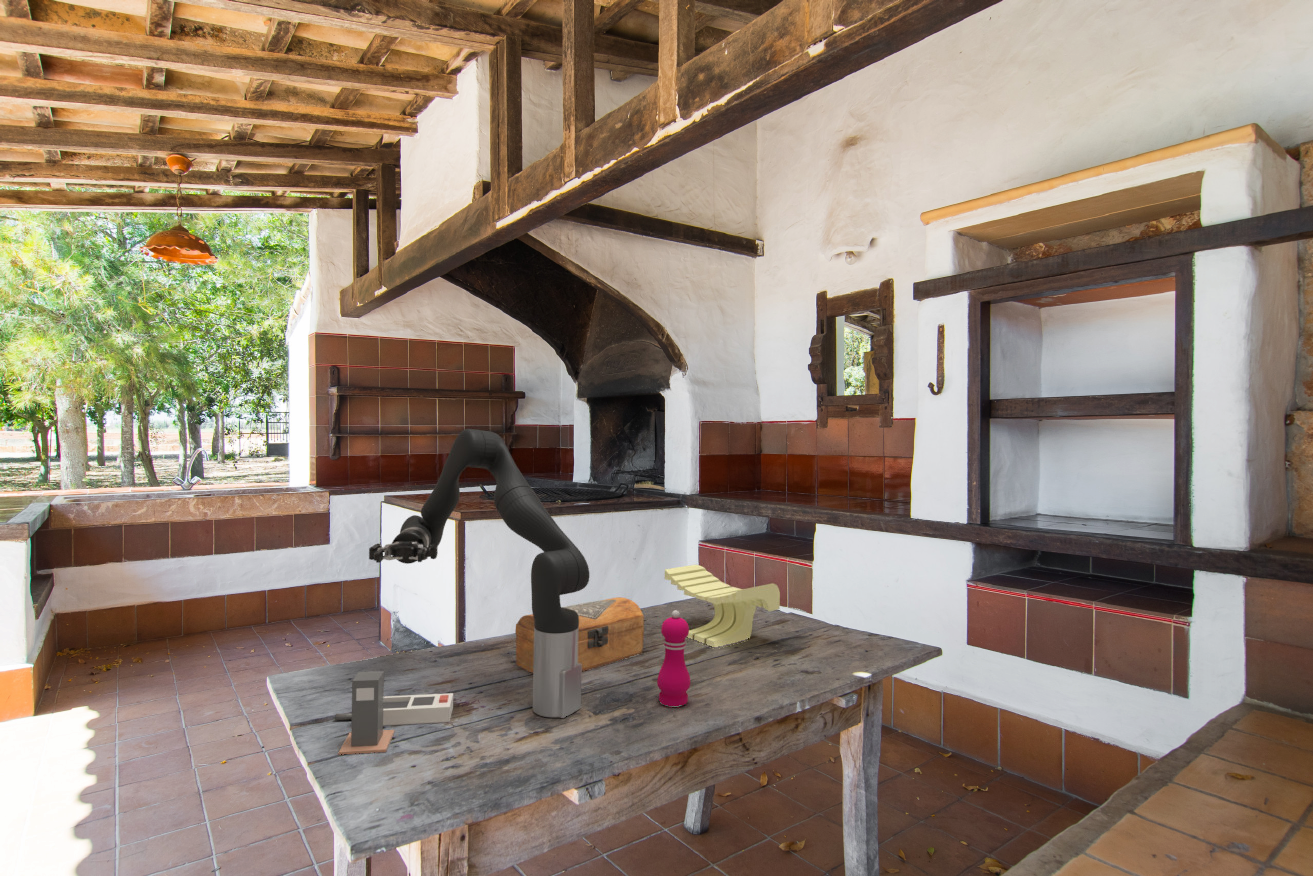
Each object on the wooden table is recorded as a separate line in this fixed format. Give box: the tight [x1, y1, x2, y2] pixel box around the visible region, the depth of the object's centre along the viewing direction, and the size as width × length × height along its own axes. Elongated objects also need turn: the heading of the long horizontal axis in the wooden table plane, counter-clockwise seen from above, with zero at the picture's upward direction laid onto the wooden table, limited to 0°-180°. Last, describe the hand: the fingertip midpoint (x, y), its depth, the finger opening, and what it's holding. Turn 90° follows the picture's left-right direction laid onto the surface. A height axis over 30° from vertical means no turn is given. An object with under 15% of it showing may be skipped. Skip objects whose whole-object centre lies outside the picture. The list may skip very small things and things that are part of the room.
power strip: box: [334, 692, 454, 727], centre depth 138 cm, size 22×7×4 cm, turn 101°
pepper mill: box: [656, 609, 691, 706], centre depth 149 cm, size 7×7×20 cm
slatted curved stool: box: [664, 564, 781, 647], centre depth 195 cm, size 30×16×18 cm, turn 41°
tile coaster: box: [338, 729, 395, 756], centre depth 127 cm, size 8×8×1 cm
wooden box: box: [515, 596, 645, 674], centre depth 174 cm, size 30×16×14 cm, turn 133°
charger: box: [350, 670, 385, 747], centre depth 126 cm, size 4×5×12 cm
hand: (398, 557), depth 148 cm, fingers open, 8 cm apart
